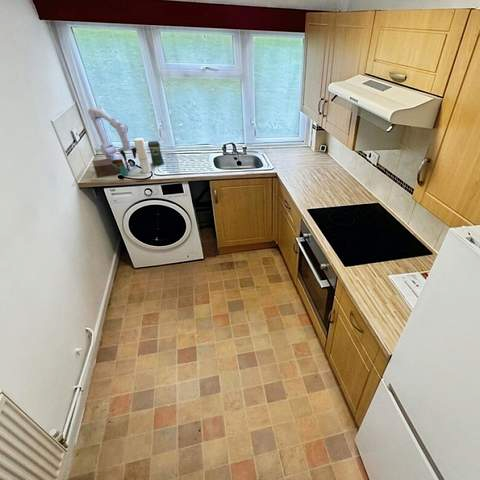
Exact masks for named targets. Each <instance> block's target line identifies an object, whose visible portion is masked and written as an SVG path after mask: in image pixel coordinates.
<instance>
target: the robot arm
mask: <svg viewBox="0 0 480 480" xmlns="http://www.w3.org/2000/svg"><path fill="white" fill-rule="evenodd" d="M87 113H88V116H89V118H90V120H91V121H92V123H93V125H94V127H95V130H96V132H97V134H98V137H99V139H100V142H101V144H100V146H99V147H100V152H101V154H102V155H103V156H104V157H105V159H111V160H118V159H120V157H119V155H118V153H120V155H121V156H122V157H123V160H124V159H125V160H126V161H127V156H126V151H130V150H131V153H132V156H133V158H134V160H135V159H137V150H136V146H135V145H131V142H130V138H129V134H128V132H129V128H128V126H127V125H126V124H125V123H121V122H120V121H119V120H118V119H116V118H115V117H111V116H110V115H109V114H108V113H107V112H106V111H105V109H104V108H103V107H102V106H96V107H91V108H88V111H87ZM102 119H104V120H106V121H107V122H108V123H109V125H110V126H111V127H113V129H115V130H116V132H117V133H118V136H119V138H120V141H121V144H122V147H120V148H117V150H116V147H115V146H114V144H113V143H112V142H111V141H109V139H108V136H107V134H106V132H105V129H104V127H103V124H102V122H101V120H102ZM117 152H118V153H117ZM127 162H128V161H127Z"/></svg>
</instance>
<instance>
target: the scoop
mask: <svg viewBox="0 0 480 480" xmlns="http://www.w3.org/2000/svg"><path fill="white" fill-rule="evenodd" d="M112 166H114V167H116V168H117V169H119V170H120V172H119V173H120V175H121V177H127V176H128V170H127V168H126V165H125V166H120V167H119V168H118V167H117V166H115V165H114V164H112Z"/></svg>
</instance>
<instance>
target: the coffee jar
mask: <svg viewBox="0 0 480 480" xmlns="http://www.w3.org/2000/svg"><path fill="white" fill-rule="evenodd" d="M147 147H148V149H149V152H150V158H151V164H152V165H154V166H160V165H163V164H164V163H165V161H164V158H163V155H162V151H161V144H160V142H159V140H151V141H148V142H147Z"/></svg>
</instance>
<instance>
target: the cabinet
mask: <svg viewBox="0 0 480 480" xmlns="http://www.w3.org/2000/svg"><path fill="white" fill-rule="evenodd" d="M112 164H113V163H112V160H111V159H106V158H105V159H104V158H103V159H95V160H92V165H93V168H94V171H95V174H96V176H97V178H103V177H110V176H117V173H116V172H115V169H114V166H112Z"/></svg>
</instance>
